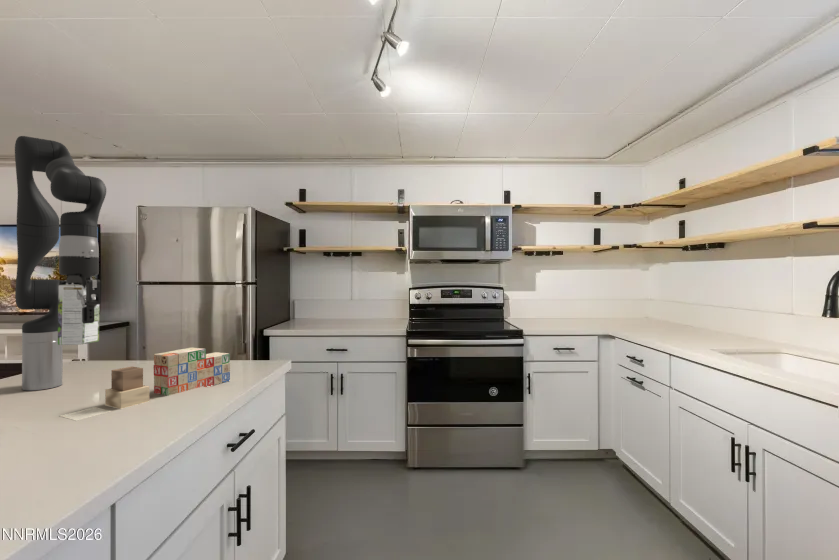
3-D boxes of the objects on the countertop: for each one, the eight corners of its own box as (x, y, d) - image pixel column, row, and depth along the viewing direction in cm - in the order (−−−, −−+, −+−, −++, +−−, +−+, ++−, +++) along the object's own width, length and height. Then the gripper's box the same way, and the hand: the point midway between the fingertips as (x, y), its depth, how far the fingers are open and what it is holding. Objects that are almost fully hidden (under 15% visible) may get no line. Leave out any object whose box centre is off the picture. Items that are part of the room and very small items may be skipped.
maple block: (105, 404, 107) (105, 389, 107) (133, 397, 113) (133, 383, 113) (121, 408, 104) (121, 392, 104) (149, 401, 110) (149, 386, 110)
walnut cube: (111, 389, 108) (111, 370, 108) (131, 384, 112) (131, 366, 112) (122, 391, 105) (123, 372, 105) (143, 386, 110) (143, 368, 110)
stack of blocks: (216, 379, 138) (216, 342, 138) (230, 381, 135) (230, 344, 135) (153, 396, 118) (153, 353, 118) (167, 398, 116) (167, 355, 116)
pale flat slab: (44, 414, 101) (44, 411, 101) (120, 396, 117) (120, 394, 117) (78, 424, 95) (78, 421, 95) (153, 403, 110) (153, 401, 110)
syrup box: (75, 342, 103) (75, 284, 103) (100, 341, 103) (100, 284, 103) (57, 345, 97) (57, 284, 97) (83, 345, 98) (83, 284, 98)
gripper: (45, 256, 100) (45, 323, 100) (76, 253, 94) (76, 324, 94) (81, 257, 107) (81, 320, 107) (112, 255, 101) (113, 322, 100)
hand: (79, 322), depth 100 cm, fingers closed on syrup box, 7 cm apart
